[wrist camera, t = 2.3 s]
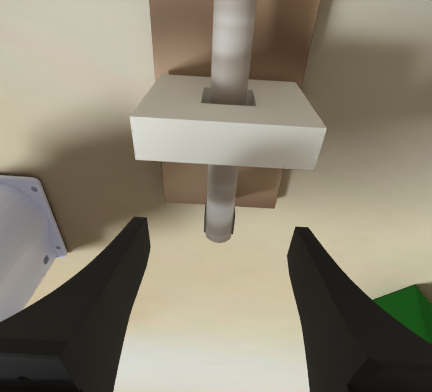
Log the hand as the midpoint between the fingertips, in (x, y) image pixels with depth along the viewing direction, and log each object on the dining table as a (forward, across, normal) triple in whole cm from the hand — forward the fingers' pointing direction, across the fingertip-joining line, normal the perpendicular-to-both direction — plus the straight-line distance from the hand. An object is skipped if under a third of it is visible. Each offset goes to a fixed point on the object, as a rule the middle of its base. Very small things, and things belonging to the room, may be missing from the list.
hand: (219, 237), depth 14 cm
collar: (+8, 0, -5) cm, 9 cm away
